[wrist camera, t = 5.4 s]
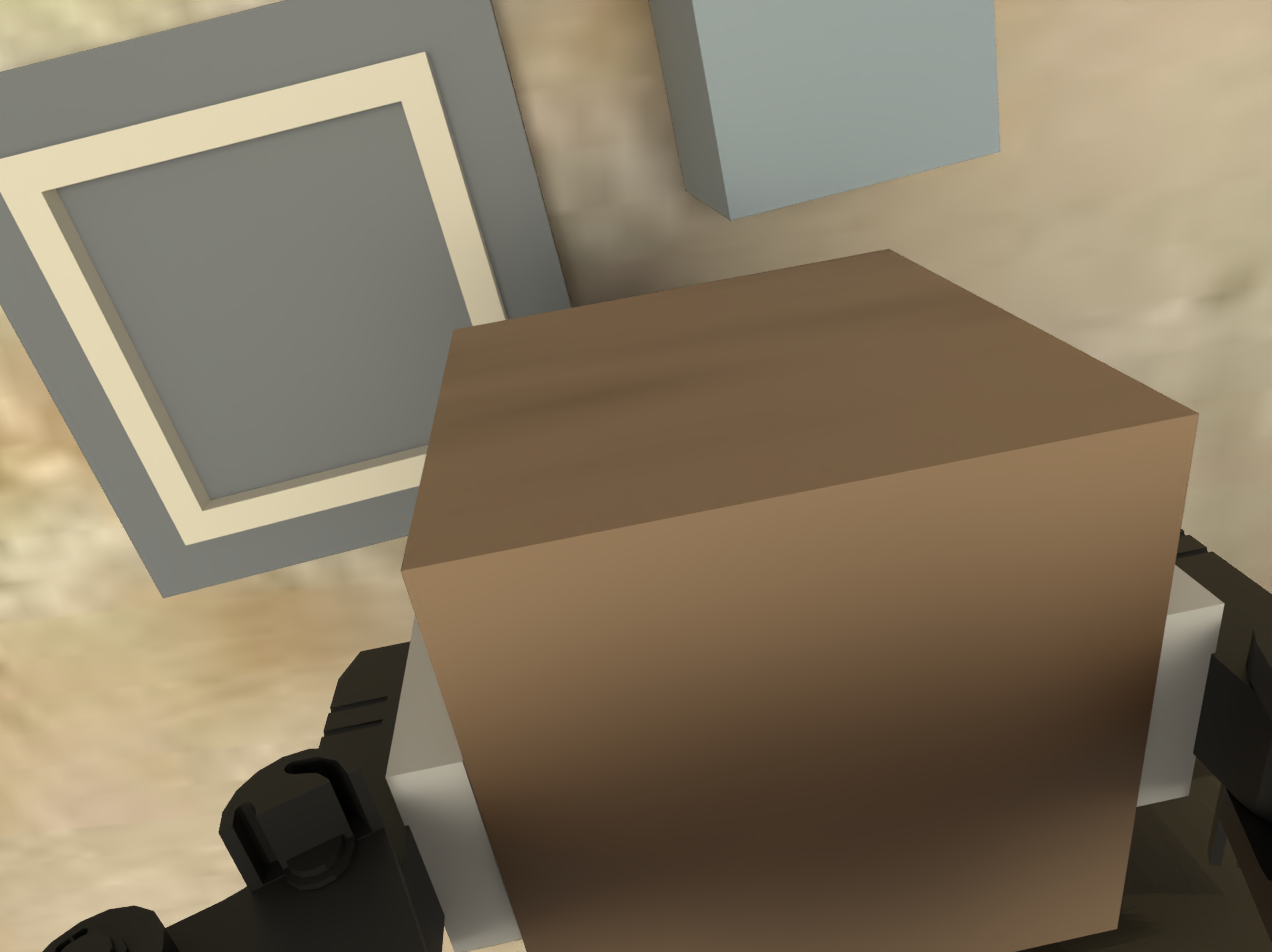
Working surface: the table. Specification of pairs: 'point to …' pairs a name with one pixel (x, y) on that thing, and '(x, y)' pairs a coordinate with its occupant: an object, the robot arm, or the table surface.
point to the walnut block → (799, 613)
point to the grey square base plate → (267, 264)
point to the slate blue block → (823, 94)
